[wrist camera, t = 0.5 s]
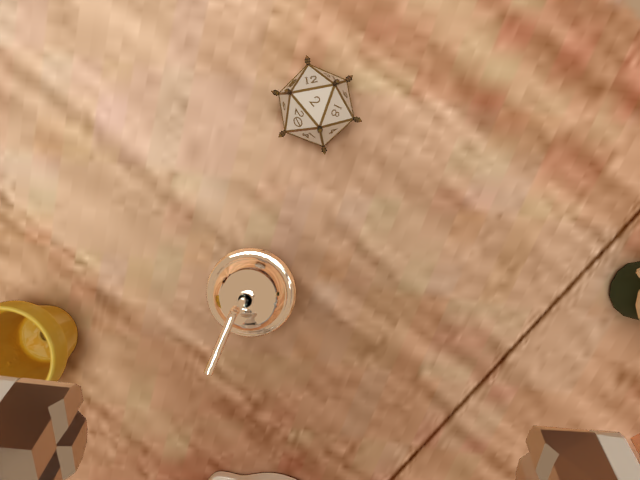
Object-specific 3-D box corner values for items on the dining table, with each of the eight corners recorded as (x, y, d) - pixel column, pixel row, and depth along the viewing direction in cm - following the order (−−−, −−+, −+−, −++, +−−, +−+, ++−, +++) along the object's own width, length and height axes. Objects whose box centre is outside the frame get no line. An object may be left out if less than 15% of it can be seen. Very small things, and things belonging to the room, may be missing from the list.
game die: (328, 129, 68) (337, 181, 60) (259, 102, 65) (260, 154, 57) (366, 61, 62) (382, 110, 55) (293, 29, 59) (300, 75, 52)
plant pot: (49, 268, 66) (0, 283, 57) (113, 335, 67) (75, 361, 57) (-14, 329, 67) (-73, 354, 58) (50, 395, 68) (2, 430, 58)
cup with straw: (317, 280, 66) (309, 324, 46) (256, 331, 66) (222, 396, 46) (267, 222, 65) (237, 240, 45) (206, 274, 66) (150, 314, 46)
